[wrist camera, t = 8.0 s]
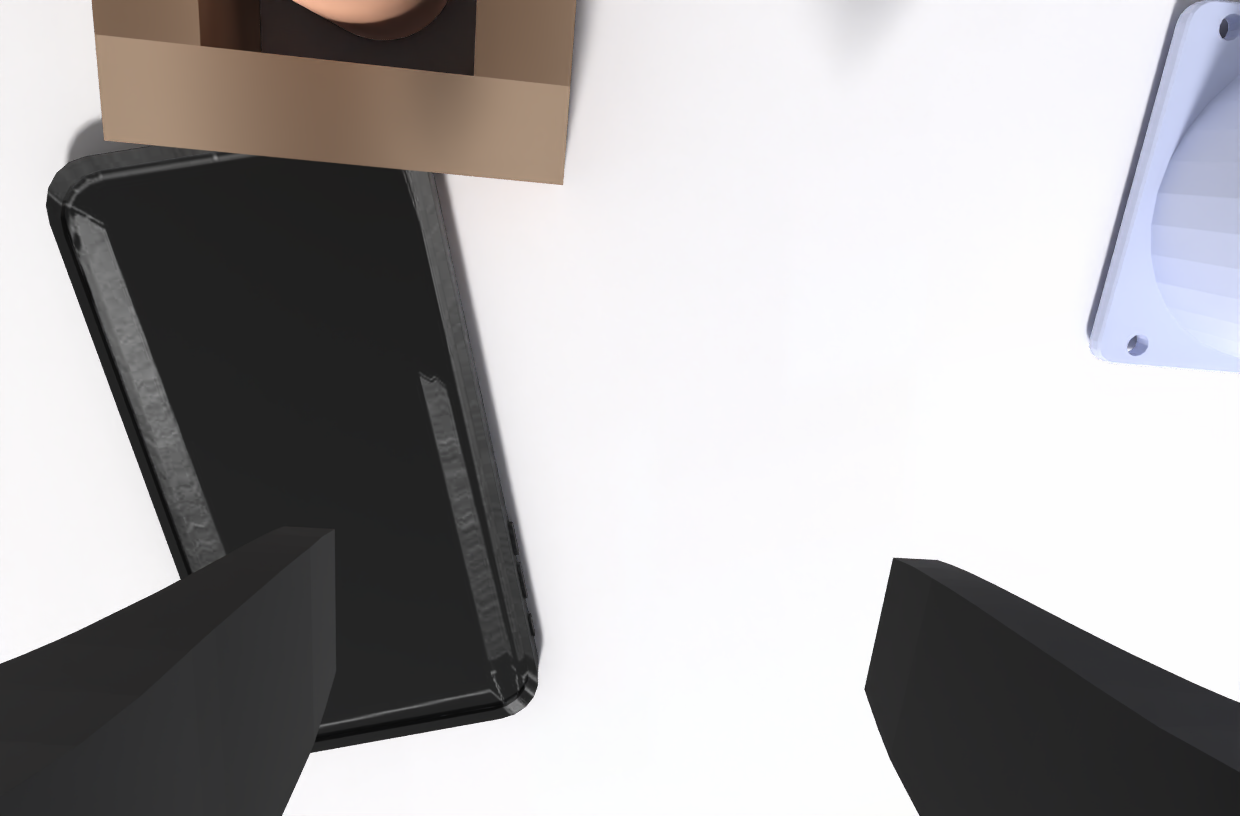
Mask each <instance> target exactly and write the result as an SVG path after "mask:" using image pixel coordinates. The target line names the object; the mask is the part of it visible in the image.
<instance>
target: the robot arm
mask: <svg viewBox="0 0 1240 816" xmlns="http://www.w3.org/2000/svg"><path fill="white" fill-rule="evenodd" d="M1224 18H1225V19H1226V21H1227V23H1228V32H1227V34H1226V36H1225V38H1224V39H1222V37H1221V35H1220V33H1219V29H1220V24H1221V22H1222V20H1223V19H1224ZM1135 335H1136V336H1137V343H1136V345H1135V347H1134V348H1133V349H1132V350H1130V351H1129V352H1128V351H1127V344H1128V343H1129V341H1130V339H1131V338H1133V337H1134V336H1135ZM1089 348H1090V351H1091V354H1092V355H1093V356H1094V357H1096V358H1097V359H1099V360H1102V361H1105V362H1108V363H1111V364H1123V365H1136V366H1148V367H1161V368H1173V369H1186V370H1198V371H1211V372H1223V373H1236V374H1240V2H1234V1H1226V0H1204V1H1200V2H1196V3H1194V4H1192V5H1190V6H1188V7H1187V8H1186V9H1185V10H1184V11H1183V12H1182V14H1181V15H1180V17H1179V19H1178V21H1177V23H1176V27H1175V30H1174V34H1173V38H1172V41H1171V45H1170V49H1169V52H1168V56H1167V59H1166V63H1165V67H1164V70H1163V74H1162V78H1161V81H1160V85H1159V89H1158V92H1157V96H1156V100H1155V103H1154V107H1153V110H1152V114H1151V118H1150V121H1149V125H1148V129H1147V132H1146V136H1145V140H1144V143H1143V147H1142V151H1141V154H1140V158H1139V161H1138V165H1137V169H1136V172H1135V176H1134V180H1133V183H1132V187H1131V191H1130V194H1129V198H1128V201H1127V205H1126V209H1125V212H1124V216H1123V220H1122V223H1121V227H1120V231H1119V234H1118V238H1117V242H1116V245H1115V249H1114V252H1113V256H1112V260H1111V263H1110V267H1109V271H1108V274H1107V278H1106V282H1105V285H1104V289H1103V293H1102V296H1101V300H1100V303H1099V307H1098V311H1097V314H1096V318H1095V322H1094V325H1093V329H1092V333H1091V336H1090V342H1089ZM335 673H336V610H335V529H327V528H308V527H288V526H283V527H281V528H278V529H276V530H273V531H271V532H269V533H267V534H265V535H263V536H261V537H259V538H257V539H255V540H253V541H251V542H249V543H247V544H246V545H244V546H242V547H240V548H238V549H236V550H234V551H233V552H231V553H229V554H227V555H225V556H223V557H222V558H220V559H218V560H216V561H214V562H212V563H211V564H209V565H207V566H205V567H203V568H201V569H199V570H198V571H196V572H194V573H192V574H190V575H188V576H186V577H185V578H183V579H181V580H179V581H177V582H175V583H173V584H172V585H170V586H168V587H166V588H164V589H162V590H160V591H158V592H156V593H154V594H152V595H150V596H148V597H146V598H144V599H142V600H140V601H138V602H136V603H134V604H132V605H130V606H128V607H126V608H124V609H122V610H120V611H118V612H116V613H113V614H111V615H109V616H107V617H105V618H103V619H101V620H99V621H97V622H95V623H93V624H91V625H89V626H87V627H85V628H83V629H81V630H79V631H77V632H74V633H72V634H70V635H68V636H66V637H63V638H61V639H59V640H57V641H54V642H52V643H50V644H47V645H45V646H43V647H40V648H38V649H36V650H33V651H31V652H29V653H26V654H24V655H21V656H19V657H16V658H14V659H11V660H9V661H6V662H4V663H1V664H0V816H282V814H283V812H284V810H285V808H286V806H287V803H288V801H289V799H290V797H291V795H292V792H293V790H294V788H295V786H296V783H297V781H298V779H299V777H300V775H301V772H302V770H303V768H304V766H305V763H306V761H307V759H308V757H309V754H310V752H311V750H312V747H313V745H314V742H315V739H316V736H317V733H318V730H319V727H320V723H321V720H322V717H323V714H324V711H325V707H326V704H327V701H328V697H329V694H330V690H331V687H332V683H333V680H334V677H335ZM865 692H866V695H867V698H868V701H869V704H870V707H871V710H872V713H873V715H874V718H875V721H876V724H877V727H878V730H879V732H880V735H881V737H882V740H883V742H884V745H885V748H886V750H887V753H888V755H889V758H890V760H891V762H892V764H893V766H894V768H895V770H896V772H897V774H898V776H899V778H900V780H901V781H902V783H903V785H904V787H905V789H906V791H907V793H908V795H909V797H910V798H911V800H912V802H913V804H914V806H915V808H916V810H917V812H918V814H919V816H1240V703H1239V702H1237V701H1234V700H1232V699H1229V698H1227V697H1224V696H1222V695H1220V694H1217V693H1215V692H1213V691H1210V690H1208V689H1206V688H1204V687H1201V686H1199V685H1197V684H1194V683H1192V682H1190V681H1188V680H1185V679H1183V678H1181V677H1179V676H1177V675H1175V674H1173V673H1171V672H1168V671H1166V670H1164V669H1162V668H1160V667H1158V666H1156V665H1154V664H1151V663H1149V662H1147V661H1145V660H1143V659H1141V658H1139V657H1136V656H1134V655H1132V654H1130V653H1128V652H1126V651H1124V650H1122V649H1120V648H1118V647H1116V646H1114V645H1112V644H1110V643H1108V642H1106V641H1104V640H1102V639H1100V638H1098V637H1096V636H1094V635H1092V634H1090V633H1088V632H1086V631H1084V630H1082V629H1080V628H1078V627H1076V626H1074V625H1072V624H1070V623H1068V622H1066V621H1064V620H1062V619H1061V618H1059V617H1057V616H1055V615H1053V614H1051V613H1049V612H1047V611H1045V610H1043V609H1041V608H1039V607H1037V606H1035V605H1033V604H1032V603H1030V602H1028V601H1026V600H1024V599H1022V598H1020V597H1018V596H1016V595H1014V594H1012V593H1010V592H1008V591H1006V590H1004V589H1002V588H1000V587H998V586H996V585H994V584H992V583H990V582H988V581H986V580H984V579H982V578H980V577H978V576H976V575H974V574H971V573H969V572H967V571H965V570H962V569H960V568H958V567H955V566H953V565H950V564H947V563H944V562H942V561H939V560H926V559H907V558H893V561H892V566H891V570H890V575H889V579H888V584H887V589H886V593H885V598H884V602H883V607H882V611H881V616H880V621H879V625H878V630H877V634H876V639H875V643H874V648H873V653H872V657H871V662H870V666H869V671H868V675H867V680H866V685H865Z"/></svg>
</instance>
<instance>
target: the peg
mask: <svg viewBox="0 0 1240 816" xmlns="http://www.w3.org/2000/svg"><path fill="white" fill-rule="evenodd" d="M293 1H295V2H296V3H298V4H300V5H302V6H304V7H305V8H307V9H309V10H311V11H312V12H314V13H316V14H318V15H320V16H321V17H323V18H325V19H327V20H329V21H330V22H332V23H334V24H336V25H337V26H339V27H341V28H343V29H345V30H346V31H349V32H351V33H353V34H355V35H358V36H361V37H364V38H368V39H374V40H395V39H400V38H404V37H408V36H410V35H412V34H415V33H417V32H418V31H420V30H422V29H423V28H425V27H426V26H427V25H429V24H430V23H431V22H432V21H433V20H434V19H435V18H436V17H437V16H438V15H439V14H440V12H441V11H442V9H443V8H444V6H445V5H446V3H447V1H448V0H293Z"/></svg>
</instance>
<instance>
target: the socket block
mask: <svg viewBox="0 0 1240 816" xmlns="http://www.w3.org/2000/svg"><path fill="white" fill-rule="evenodd" d="M92 10H93V21H94V32H95V44H96V55H97V66H98V77H99V89H100V100H101V111H102V123H103V134H104V141H115V142H125V143H135V144H146V145H156V146H166V147H177V148H187V149H197V150H207V151H218V152H228V153H238V154H249V155H259V156H269V157H280V158H290V159H300V160H311V161H321V162H331V163H341V164H352V165H362V166H372V167H383V168H393V169H403V170H414V171H424V172H434V173H445V174H455V175H465V176H475V177H486V178H496V179H506V180H517V181H527V182H537V183H548V184H558V185H563V178H564V164H565V151H566V137H567V123H568V109H569V96H570V82H571V68H572V54H573V41H574V27H575V13H576V0H477V6H476V31H475V57H474V76H470V75H461V74H452V73H442V72H433V71H424V70H415V69H406V68H397V67H388V66H379V65H369V64H360V63H351V62H342V61H333V60H324V59H315V58H306V57H297V56H287V55H278V54H269V53H261V33H260V2H259V0H92Z"/></svg>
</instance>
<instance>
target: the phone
mask: <svg viewBox="0 0 1240 816" xmlns="http://www.w3.org/2000/svg"><path fill="white" fill-rule="evenodd" d="M46 208H47V213H48V218H49V223H50V226H51V229H52V231H53V234H54V237H55V240H56V242H57V245H58V248H59V250H60V253H61V256H62V259H63V261H64V264H65V267H66V269H67V272H68V275H69V278H70V280H71V283H72V286H73V288H74V291H75V294H76V297H77V299H78V302H79V305H80V307H81V310H82V313H83V316H84V318H85V321H86V324H87V326H88V329H89V332H90V335H91V337H92V340H93V343H94V345H95V348H96V351H97V354H98V356H99V359H100V362H101V364H102V367H103V370H104V373H105V375H106V378H107V381H108V383H109V386H110V389H111V392H112V394H113V397H114V400H115V402H116V405H117V408H118V411H119V413H120V416H121V419H122V421H123V424H124V427H125V430H126V432H127V435H128V438H129V440H130V443H131V446H132V449H133V451H134V454H135V457H136V459H137V462H138V465H139V468H140V470H141V473H142V476H143V478H144V481H145V484H146V487H147V489H148V492H149V495H150V497H151V500H152V503H153V506H154V508H155V511H156V514H157V516H158V519H159V522H160V525H161V527H162V530H163V533H164V535H165V538H166V541H167V544H168V546H169V549H170V552H171V554H172V557H173V560H174V563H175V565H176V568H177V571H178V573H179V576H180V579H183V578H185V577H186V576H188V575H190V574H192V573H194V572H196V571H198V570H199V569H201V568H203V567H205V566H207V565H209V564H211V563H212V562H214V561H216V560H218V559H220V558H222V557H223V556H225V555H227V554H229V553H231V552H233V551H234V550H236V549H238V548H240V547H242V546H244V545H246V544H247V543H249V542H251V541H253V540H255V539H257V538H259V537H261V536H263V535H265V534H267V533H269V532H271V531H273V530H276V529H278V528H281V527H283V526H288V527H308V528H327V529H335V610H336V673H335V677H334V680H333V683H332V687H331V690H330V694H329V697H328V701H327V704H326V707H325V711H324V714H323V717H322V720H321V723H320V727H319V730H318V733H317V736H316V739H315V742H314V745H313V747H312V750H311V752H310V753H313V752H318V751H324V750H329V749H335V748H340V747H346V746H352V745H357V744H363V743H368V742H374V741H379V740H385V739H390V738H396V737H402V736H407V735H413V734H418V733H424V732H429V731H435V730H441V729H446V728H452V727H457V726H463V725H468V724H474V723H479V722H485V721H491V720H496V719H502V718H505V717H508V716H511V715H514V714H516V713H517V712H519V711H520V710H522V709H523V708H525V707H526V706H527V705H528V703H529V702H530V701H531V700H532V698H533V697H534V695H535V692H536V689H537V686H538V655H537V650H536V646H535V641H534V636H535V630H534V626H533V621H532V616H531V613H530V614H529V613H528V609H527V604H526V600H525V598H527V590H526V586H525V581H524V576H523V572H522V567H521V562H517V558H516V555H519V550H518V545H517V540H516V536H515V531H514V526H513V522H509V521H508V516H507V512H506V507H505V503H504V498H503V493H502V489H501V484H500V479H499V475H498V470H497V466H496V461H495V456H494V452H493V447H492V443H491V438H490V433H489V429H488V424H487V419H486V415H485V410H484V406H483V401H482V396H481V392H480V387H479V383H478V378H477V373H476V369H475V364H474V359H473V355H472V350H471V346H470V341H469V336H468V332H467V327H466V322H465V318H464V313H463V309H462V304H461V299H460V295H459V290H458V286H457V281H456V276H455V272H454V267H453V262H452V258H451V253H450V249H449V244H448V239H447V235H446V230H445V226H444V221H443V216H442V212H441V207H440V202H439V198H438V193H437V189H436V184H435V179H434V175H433V172H424V171H414V170H403V169H393V168H383V167H372V166H362V165H352V164H341V163H331V162H321V161H311V160H300V159H290V158H280V157H269V156H259V155H249V154H238V153H228V152H218V151H207V150H197V149H187V148H177V147H166V146H156V145H154V146H148V147H142V148H136V149H129V150H123V151H117V152H110V153H104V154H98V155H91V156H86V157H83V158H80V159H77V160H74V161H71V162H69V163H68V164H67V165H65V166H64V167H63V168H62V169H61V170H59V171H58V172H57V173H56V175H55V177H54V178H53V180H52V182H51V184H50V186H49V188H48V194H47V202H46Z"/></svg>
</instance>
